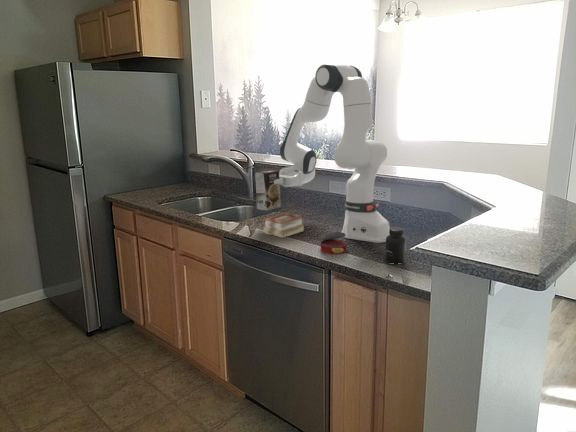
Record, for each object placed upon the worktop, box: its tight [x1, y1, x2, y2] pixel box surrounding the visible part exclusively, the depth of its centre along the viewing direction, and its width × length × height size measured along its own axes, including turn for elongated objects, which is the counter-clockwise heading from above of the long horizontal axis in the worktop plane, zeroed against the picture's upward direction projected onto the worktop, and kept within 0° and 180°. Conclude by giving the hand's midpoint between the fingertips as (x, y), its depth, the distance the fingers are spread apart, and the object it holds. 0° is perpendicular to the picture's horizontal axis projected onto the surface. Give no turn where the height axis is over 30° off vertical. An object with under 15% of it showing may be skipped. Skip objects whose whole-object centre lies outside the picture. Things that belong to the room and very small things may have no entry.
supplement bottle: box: [384, 226, 407, 264], centre depth 158 cm, size 7×7×12 cm
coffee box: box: [255, 170, 282, 211], centre depth 199 cm, size 9×6×16 cm
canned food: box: [319, 231, 348, 255], centre depth 172 cm, size 11×10×10 cm
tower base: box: [262, 212, 305, 239], centre depth 197 cm, size 11×14×7 cm
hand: (266, 181), depth 198 cm, fingers closed on coffee box, 6 cm apart
